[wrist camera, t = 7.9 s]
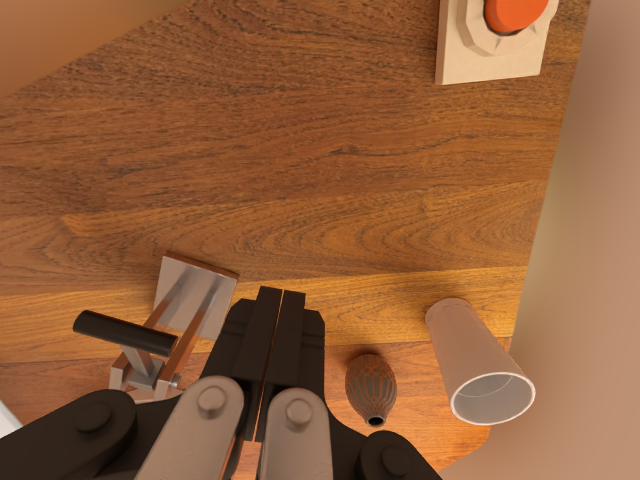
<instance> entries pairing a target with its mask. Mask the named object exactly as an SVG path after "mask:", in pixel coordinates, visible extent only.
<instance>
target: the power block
mask: <svg viewBox="0 0 640 480" xmlns="http://www.w3.org/2000/svg"><path fill="white" fill-rule="evenodd" d="M558 2H559V0H549V2H548V4H547V6H546V8H545V10H544V11H543V13H542V14H541V15H540V17H539V18H538V19H537V20H536V21H535V22H533V23H532V24H530V25H529V26H527V27H525V28H522V29H518V30H515V31H511V32H506V33H502V32H497V31H495V30H494V29H492V28H491V27H490V25H489V24H488V22H487V20H486V16H485V5H486V0H440V12H439V27H438V42H437V57H436V72H435V85H446V84H456V83H466V82H475V81H485V80H494V79H504V78H514V77H523V76H533V75H539V72H540V67H541V62H542V57H543V52H544V48H545V43H546V38H547V33H548V28H549V23H550V20H551V19H552V17H553V16H554V14H555V13H556V11H557V6H558Z"/></svg>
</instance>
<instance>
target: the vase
mask: <svg viewBox="0 0 640 480" xmlns="http://www.w3.org/2000/svg"><path fill="white" fill-rule="evenodd" d="M345 389H346V394H347V397H348V400H349V402H350V404H351V406H352V407H353V408H354V410H355V411H356V412H357V413H358V414H359V415H360V416H362V417H363V419H364V420H365V422H366V424H367V425H368V426H370V427H373V428H377V427H381V426H383V425H384V424H385V422H386V418H387V415H388V414H389V412H390V411H391V409H392V408H393V406H394V403H395V400H396V395H397V385H396V380H395V376H394V373H393V371H392V369H391V367H390V366H389V365H388V363H387V362H386V361H385V360H384V359H382V358H381V357H379V356H377V355H374V354H363V355H360V356H358V357H357V358H355V359H354V360H353V361H352V362H351V363H350V365H349V367H348V369H347V372H346V376H345Z"/></svg>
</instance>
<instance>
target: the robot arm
mask: <svg viewBox="0 0 640 480" xmlns="http://www.w3.org/2000/svg"><path fill="white" fill-rule="evenodd" d="M282 290H283V289H277V288H272V287H266V286H261V287H260V290H259V293H258V296H257V299H256V301H255V300H249V299H243V298H241V299H240V300H239V301H238V302H237V303H235V304H234V305H233V306H232V307H231V308H230V310H229V313H228V315H227V317H226V319H225V322H224V324H223V326H222V328H221V332H220V333H219V335H218V337H217V340H216V342H215V344H214V347H213V349H212V351H211V353H210V356H209V358H208V360H207V362H206V365H205V367H204V369H203V372H202V374H201V376H200V377H199V379H198V380H197V381H195V382H194V383H192V384H191V385H190V386H189V387H188V388H187V389H186V390H185V391H184V392H183V393H182V394H180V395H177V396H175V397H172V398H169V399H165V400H160V401H153V402H147V403H140V404H135V402H134V400H133V398H132V397H131V396H130V395H129V394H128V393H126V392H124V391H121V390H117V389H104V390H99V391H95V392H92V393H89V394H87V395H84V396H82V397H80V398H78V399H76V400H74V401H72V402H70V403H68V404H66V405H65V406H63V407H61V408H59V409H57V410H55V411H53V412H51V413H49V414H47V415H45V416H43V417H41V418H39V419H37V420H35V421H33V422H31V423H30V424H28V425H26V426H24V427H22V428H20V429H18V430H16V431H14V432H12V433H10V434H8V435H6V436H4V437H2V438H1V439H0V480H233V477H234V473H235V471H236V469H237V466H238V463H239V459H240V455H241V450H242V446H243V442H244V440H245V441H252V439H253V434H254V430H255V425H256V420H257V416H258V411H259V406H260V402H261V407H260V413H259V419H258V425H257V431H256V436H255V442H261V443H262V445H261V450H260V456H259V461H258V467H257V472H256V477H255V480H442V478H441V477H440V476H439V475H438V474H437V473H436V471H435V470H434V469H433V468H432V467H431V466H430V465H429V463H428V462H427V461H426V460H425V459H424V458H423V457H422V455H421V454H420V453H419V452H418V451H417V450H416V448H415V447H414V446H413V445H412V444H411V443H410V442H409V441H408V440H406V439H405V438H404V437H402V436H401V435H399V434H397V433H395V432H391V431H386V430H381V431H376V432H374V433H372V434H370V435H369V436H368V437H367V436H365V435H363V434H361V433H359V432H357V431H355V430H353V429H351V428H349V427H347V426H345V425H344V424H342V423H341V422H340V421H338V420H337V419H336V418H335V417H334V416H333V414H332V413H331V412H330V410H329V408H328V407H327V404H326V401H325V397H324V347H325V339H324V337H325V323H324V321H323V319H322V317H321V315H320V313H319V311H314V310H308V309H304V306H305V296H306V293H301V292H295V291H289V290H284V294H283V299H282V304H281V308H280V302H281V297H282ZM279 308H280V313H279ZM278 314H279V318H278ZM277 319H278V322H277ZM276 325H277V327H276ZM275 330H276V332H275ZM272 345H273V346H272ZM271 350H272V351H271ZM269 359H270V360H269ZM268 364H269V365H268ZM265 378H266V379H265ZM264 383H265V384H264ZM263 388H264V390H263ZM262 392H263V396H262ZM261 397H262V401H261Z"/></svg>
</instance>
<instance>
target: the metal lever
mask: <svg viewBox="0 0 640 480" xmlns="http://www.w3.org/2000/svg"><path fill="white" fill-rule="evenodd" d="M73 331H74V332H76V333H80V334H84V335H87V336H91V337H94V338H98V339H102V340H105V341H109V342H112V343H116V344H119V345H120V347H121V348H122V350H123V352H124V353H125V355H126V356H127V358H128V360H129V361H130V363H131V364H132V366H133V370H132V372H131V374H130V376H129V378H128V380H127V381H128V383H129V384H130V385H131V386H132V387H135V388H139V389H143V390H147V391H151V392H155V390H156V385H157V381H158V378H159V376H160V375H161V373H162V371H163V369H164V368H165V362H164V361H163V360H160V359H156V358H153V357H151V356H150V354H149V353H152V354H156V355H159V356H163V357H166V358H169V357H170V356H171V355H172V353H173V351H174V349H175V347H176V344H177V341H178V336H176V335H172V334H169V333H165V332H162V331H158V330H155V329H151V328H148V327H144V326H141V325H138V324H134V323H131V322H127V321H124V320H120V319H117V318H113V317H110V316H106V315H103V314H100V313H96V312H93V311H89V310H84V311H83V312H82V313H80V315H79V316H78V317H77V319H76V320H75V322H74V325H73Z"/></svg>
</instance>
